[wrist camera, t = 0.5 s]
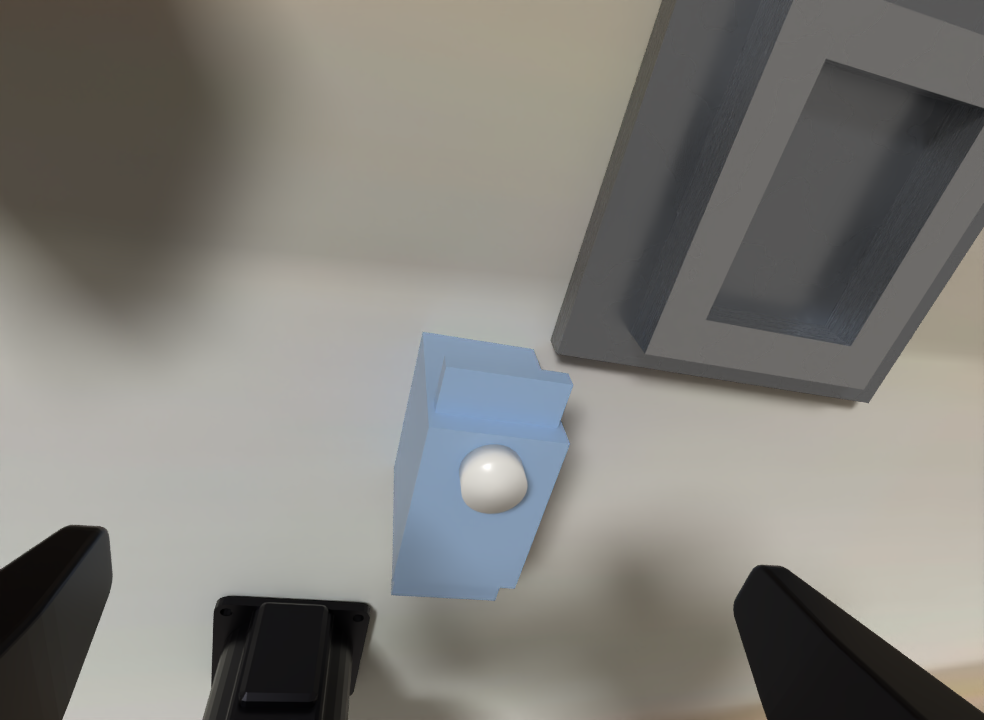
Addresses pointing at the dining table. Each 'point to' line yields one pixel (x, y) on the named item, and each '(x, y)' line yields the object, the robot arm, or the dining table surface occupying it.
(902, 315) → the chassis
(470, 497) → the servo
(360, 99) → the dining table surface
